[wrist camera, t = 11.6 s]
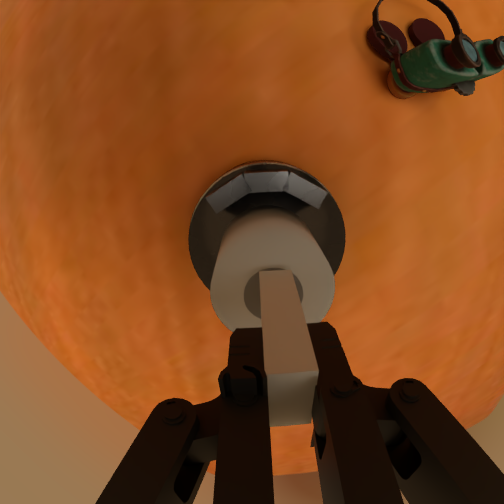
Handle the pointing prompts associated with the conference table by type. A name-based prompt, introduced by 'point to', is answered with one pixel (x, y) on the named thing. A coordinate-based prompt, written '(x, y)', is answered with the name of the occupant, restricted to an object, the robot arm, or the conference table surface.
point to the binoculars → (434, 56)
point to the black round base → (263, 193)
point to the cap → (268, 266)
